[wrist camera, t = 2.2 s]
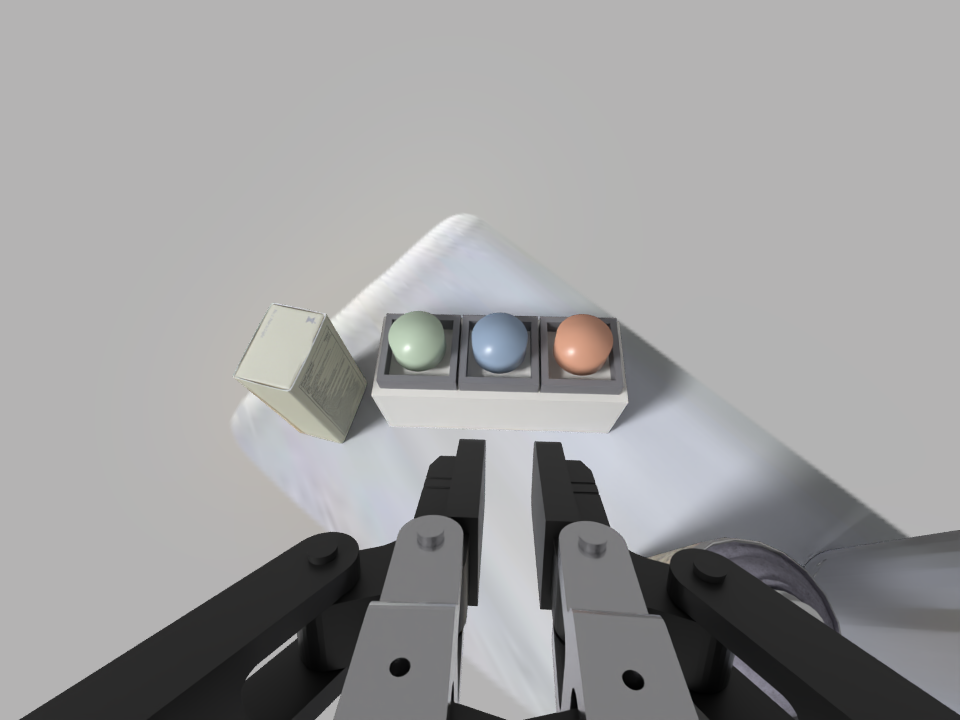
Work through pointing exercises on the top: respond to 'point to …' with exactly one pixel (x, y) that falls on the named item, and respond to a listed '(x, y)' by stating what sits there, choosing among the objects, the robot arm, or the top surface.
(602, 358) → the terracotta button
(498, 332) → the slate blue button
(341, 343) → the skincare box
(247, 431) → the top surface
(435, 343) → the sage button
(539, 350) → the button console
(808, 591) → the aerosol can
